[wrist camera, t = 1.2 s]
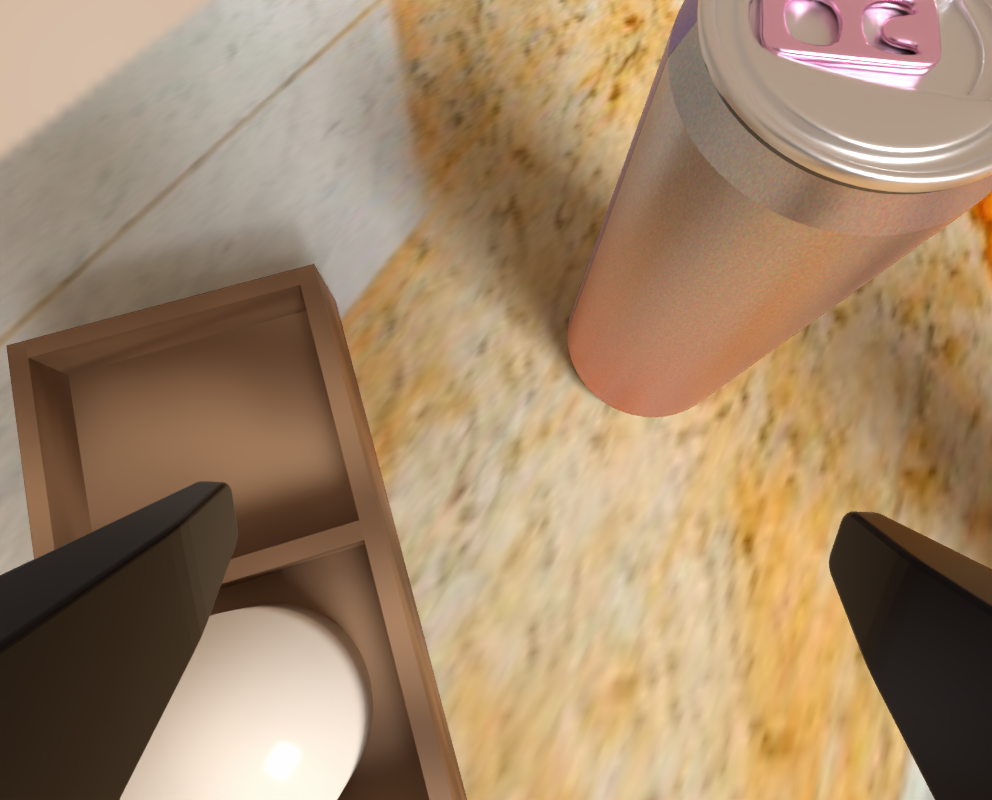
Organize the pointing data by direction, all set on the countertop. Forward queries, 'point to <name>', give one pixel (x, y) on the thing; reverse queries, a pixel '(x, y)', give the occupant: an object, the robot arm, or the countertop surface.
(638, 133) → the beverage can
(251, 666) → the cream rounded shiny part
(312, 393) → the caddy
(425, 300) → the countertop surface
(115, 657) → the robot arm
